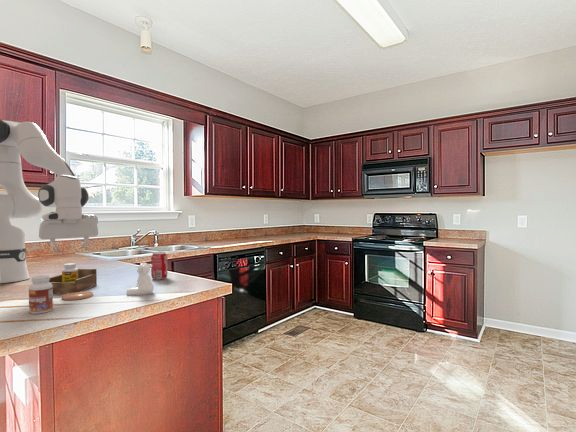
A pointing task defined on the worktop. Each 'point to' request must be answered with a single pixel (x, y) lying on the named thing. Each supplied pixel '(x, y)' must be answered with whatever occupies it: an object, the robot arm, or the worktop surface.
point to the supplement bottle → (69, 273)
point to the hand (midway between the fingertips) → (70, 249)
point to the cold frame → (84, 281)
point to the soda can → (159, 265)
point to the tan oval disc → (77, 295)
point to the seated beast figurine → (142, 281)
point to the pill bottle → (40, 295)
